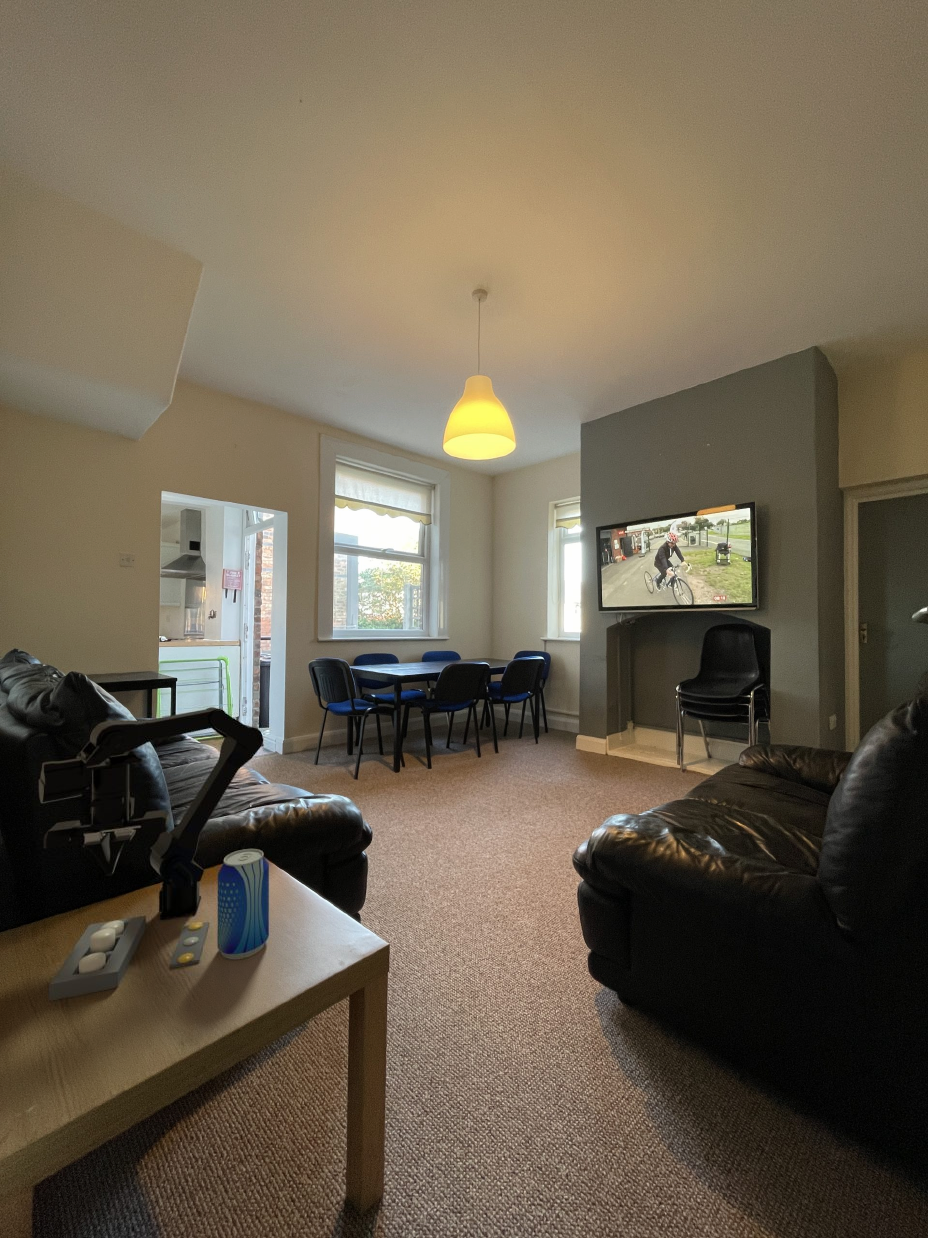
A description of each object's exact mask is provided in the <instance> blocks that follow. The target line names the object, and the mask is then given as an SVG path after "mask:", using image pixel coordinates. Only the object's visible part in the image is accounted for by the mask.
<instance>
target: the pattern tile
mask: <svg viewBox="0 0 928 1238" xmlns="http://www.w3.org/2000/svg"><path fill="white" fill-rule="evenodd" d="M209 928H210V921H207V922H201V921H197V922H193V923H191V924H189V925H184V926H183V927H182V930H181V932H180V936H179V938H178V941H177V944H176V946H175V950H174V953H173V956H172V958H171V961H170V963H169V969H172V968H177V967H183V966H187V965H193V964H198V963H200V961H201V959H202V958H201V957H202V953H203V950H204V946H205V942H206V938H207V934H208V930H209Z"/></svg>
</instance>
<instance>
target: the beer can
mask: <svg viewBox="0 0 928 1238" xmlns="http://www.w3.org/2000/svg"><path fill="white" fill-rule="evenodd" d="M216 931H217V932H216V933H217V938H216V939H217V942H216V943H217V946H216V947H217V949H218V951H219V952H220V953H221V954H222V957H224V958H225V959H228V960H232V961H233V960H234V961H235V960H243V959H247V958H250V957H251V956H255V954H257V953H259V952H260V951H261V950H262V949H263V947H264V946H265V943H266V942H267V941H268V939H269V936H270V864H269V862H268V861H267V860H266V857H265V855H264V852H263V850H260V849H257V848H247V849H246V848H245V849H241V850H236V851H234V852H231V853H228V854H227V855H226V856H225V857H224V859H223V864H222V865H221V867H220V868H219V871H218V872H217V930H216Z"/></svg>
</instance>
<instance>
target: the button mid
mask: <svg viewBox="0 0 928 1238" xmlns="http://www.w3.org/2000/svg"><path fill="white" fill-rule="evenodd" d="M114 947H115V929H111V928H109V929H103V930H100V931H98V932H96V933H94V934H93V935H92V936H91V937H90V954H93V953H100V952H101V953H104V952H110V951H111V950H113V949H114Z"/></svg>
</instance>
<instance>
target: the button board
mask: <svg viewBox="0 0 928 1238" xmlns="http://www.w3.org/2000/svg"><path fill="white" fill-rule="evenodd" d="M112 921H113V920H110V921H104V922H97V923H96V922H95V923H92V924H89V925H88V926H87V928H86V930H85V931H84V932H83V934H82V936H81V937H80V938H79V940H78V941H77V943H76V944H75V946H74V947H73V949H72V950H71V952H70V953H69V954H68V956H67V957H66V959H65V961H64V962H63V964H62V965H61V966H60V968H59V969H58V971H57V972H56V974H55V976H54V977H53V978H52V979H51V982H50V983H49V986H48V994H49V995H48V1001H49V1002H50V1001H51V1002H52V1001H56V1000H61V999H62V1000H63V999H67V998H72V997H76V996H80V995H87V994H91V993H97V992H101V991H106V990H111V989H116V988H119V985H120V984H121V981H122V979H123V977H124V975H125V973H126V972H127V970H128V967H129V965H130V962H131V960H132V959H133V957H134V954H135V952H136V950H137V949H138V946H139V944H140V942H141V940H142V938H143V936H144V933H145V931H146V929H147V928H146V927H147V926H146V925H147V915H142V916H141V915H140V916H134V917H129V918H123V919H116V920H115V919H114V921H123V922H124V932H123V934H121V935H116V936H115V947H114V949H113V950H111V951H110V952H104V953H105V955H106V964H105V967H104V969H102V970H96V971H91V972H86V973H80V974H79V962H80V960H81V959H83V958H84V957H86V956H88V955H90V937H91V936H92V935H93V934H94V933H96V932H98V931H100V929H101V927H102V926H103V925H105V924H107V923H109V922H112Z"/></svg>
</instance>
